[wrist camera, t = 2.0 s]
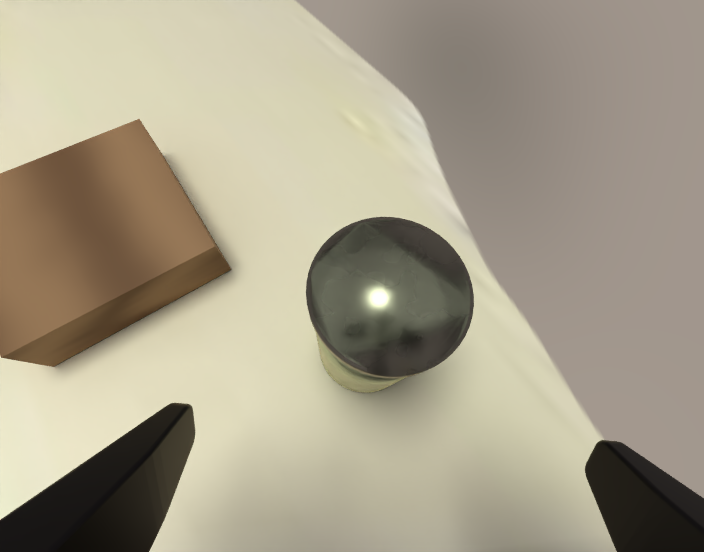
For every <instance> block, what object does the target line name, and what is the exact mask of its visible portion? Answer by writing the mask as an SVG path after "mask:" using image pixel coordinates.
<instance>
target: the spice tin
mask: <svg viewBox="0 0 704 552" xmlns="http://www.w3.org/2000/svg"><path fill="white" fill-rule="evenodd" d="M306 297H307V306H308V310H309V314H310V319H311V322H312V324H313V327H314V329H315V331H316V336H317V341H318V346H319V352H320V356H321V360H322V363H323V365H324V367H325V369H326V371H327V372H328V374H329V375H330V376H331V378H332V379H333V380H334V381H336V382H337V383H338V384H339V385H341V386H343V387H344V388H346V389H349V390H351V391H355V392H361V393H370V392H376V391H380V390H382V389H384V388H387V387H389V386H390V385H392V384H394V383H396V382H398V381H400V380H402V379H404V378H406V377H409V376H413V375H416V374H419V373H422V372H424V371H426V370H428V369H430V368H432V367H435V366H436V365H438V364H439V363H441V362H442V361H444V360H445V359H446V358H448V357H449V356H450V355H451V354H452V353H453V352H454V351H455V350H456V349H457V347H458V346H459V345H460V344H461V342H462V340H463V339H464V337H465V335H466V333H467V331H468V329H469V326H470V323H471V319H472V315H473V307H474V295H473V288H472V283H471V280H470V276H469V274H468V271H467V269H466V267H465V265H464V263H463V261H462V260H461V258H460V256H459V255H458V254H457V252H456V251H455V250H454V248H453V247H452V246H451V245H450V244H449V243H448V242H447V241H446V240H444V239H443V238H442V237H441V236H440V235H438V234H437V233H435V232H434V231H432V230H431V229H429V228H427V227H425V226H423V225H421V224H418V223H415V222H413V221H409V220H405V219H401V218H394V217H376V218H369V219H364V220H361V221H358V222H355V223H352V224H350V225H348V226H346V227H344V228H342V229H341V230H339V231H338V232H336V233H335V234H334V235H333V236H331V237H330V238H329V239H328V240H327V241H326V242H325V243H324V244H323V246H322V247H321V248H320V250H319V251H318V253H317V254H316V256H315V258H314V260H313V262H312V264H311V267H310V270H309V273H308V278H307V286H306Z"/></svg>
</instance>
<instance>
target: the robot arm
mask: <svg viewBox="0 0 704 552" xmlns="http://www.w3.org/2000/svg"><path fill="white" fill-rule="evenodd" d="M194 439H195V424H194V416H193V409H192V406H191V405H189V404H182V403H171V404H169V405H167V406H166V407H164V408H163V409H161V410H160V411H159V412H157V413H156V414H154V415H153V416H151V417H150V418H148V419H147V420H145V421H144V422H142V423H141V424H140V425H138V426H137V427H135V428H134V429H132V430H131V431H129V432H128V433H126V434H125V435H123V436H122V437H121V438H119V439H118V440H116V441H115V442H113V443H112V444H110V445H109V446H107V447H106V448H104V449H103V450H102V451H100V452H99V453H97V454H96V455H94V456H93V457H91V458H90V459H88V460H87V461H85V462H84V463H83V464H81V465H80V466H78V467H77V468H75V469H74V470H72V471H71V472H69V473H68V474H66V475H65V476H64V477H62V478H61V479H59V480H58V481H56V482H55V483H53V484H52V485H50V486H49V487H48V488H46V489H45V490H43V491H42V492H40V493H39V494H37V495H36V496H34V497H33V498H31V499H30V500H29V501H27V502H26V503H24V504H23V505H21V506H20V507H18V508H17V509H15V510H14V511H12V512H11V513H10V514H8V515H7V516H5V517H4V518H2V519H1V520H0V552H149V551H150V549H151V547H152V545H153V542H154V540H155V538H156V536H157V534H158V532H159V530H160V528H161V526H162V523H163V521H164V519H165V517H166V514H167V512H168V509H169V507H170V504H171V501H172V499H173V496H174V493H175V491H176V488H177V485H178V483H179V480H180V477H181V475H182V472H183V469H184V467H185V464H186V461H187V459H188V456H189V454H190V451H191V448H192V446H193V443H194ZM585 473H586V477H587V480H588V482H589V485H590V487H591V490H592V492H593V495H594V497H595V500H596V502H597V505H598V507H599V509H600V512H601V514H602V517H603V519H604V522H605V524H606V527H607V529H608V532H609V534H610V537H611V539H612V542H613V544H614V546H615V548H616V551H617V552H704V498H702V497H701V496H699V495H698V494H696V493H695V492H693V491H692V490H691V489H689V488H688V487H686V486H685V485H683V484H682V483H680V482H679V481H677V480H676V479H674V478H673V477H672V476H670V475H669V474H667V473H666V472H664V471H663V470H661V469H659V468H658V467H657V466H655V465H654V464H652V463H651V462H650V461H648V460H647V459H645V458H644V457H642V456H640V455H639V454H638V453H636V452H635V451H633V450H632V449H630V448H629V447H628V446H626V445H624V444H623V443H621V442H617V441H606V440H601V441H599V442H598V443H597V444H596V446H595V448H594V449H593V451H592V453H591V455H590V457H589V459H588V461H587V463H586V466H585Z"/></svg>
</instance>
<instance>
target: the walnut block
mask: <svg viewBox="0 0 704 552" xmlns="http://www.w3.org/2000/svg"><path fill="white" fill-rule="evenodd" d="M230 270H231V268H230V266H229V265H228V263H227V261H226V260H225V258H224V256H223V255H222V253H221V251H220V250H219V248H218V246H217V245H216V243H215V241H214V240H213V238H212V236H211V235H210V233H209V231H208V230H207V228H206V226H205V225H204V223H203V221H202V220H201V218H200V216H199V215H198V213H197V211H196V210H195V208H194V206H193V205H192V203H191V201H190V200H189V198H188V196H187V195H186V193H185V191H184V190H183V188H182V186H181V185H180V183H179V181H178V180H177V178H176V176H175V175H174V173H173V171H172V170H171V168H170V166H169V165H168V163H167V161H166V160H165V158H164V157H163V155H162V153H161V152H160V150H159V149H158V147H157V146H156V144H155V142H154V141H153V139H152V138H151V136H150V135H149V133H148V132H147V130H146V129H145V127H144V125H143V124H142V122H141V121H140V119H138V120H135V121H133V122H130V123H128V124H125V125H123V126H120V127H118V128H115V129H112V130H110V131H107V132H105V133H102V134H100V135H97V136H95V137H92V138H90V139H87V140H85V141H82V142H79V143H77V144H74V145H72V146H69V147H67V148H64V149H62V150H59V151H57V152H54V153H52V154H49V155H46V156H44V157H41V158H39V159H36V160H34V161H31V162H29V163H26V164H24V165H21V166H19V167H16V168H13V169H11V170H8V171H6V172H3V173H1V174H0V355H1V358H6V359H12V360H18V361H23V362H29V363H35V364H40V365H46V366H52V367H54V366H56V365H58V364H59V363H61V362H63V361H65V360H67V359H69V358H70V357H72V356H74V355H76V354H78V353H80V352H81V351H83V350H85V349H87V348H89V347H91V346H92V345H94V344H96V343H98V342H100V341H101V340H103V339H105V338H107V337H109V336H111V335H112V334H114V333H116V332H118V331H120V330H122V329H123V328H125V327H127V326H129V325H131V324H133V323H134V322H136V321H138V320H140V319H142V318H144V317H145V316H147V315H149V314H151V313H153V312H155V311H156V310H158V309H160V308H162V307H164V306H166V305H167V304H169V303H171V302H173V301H175V300H177V299H178V298H180V297H182V296H184V295H186V294H187V293H189V292H191V291H193V290H195V289H197V288H198V287H200V286H202V285H204V284H206V283H208V282H209V281H211V280H213V279H215V278H217V277H219V276H220V275H222V274H224V273H226V272H228V271H230Z"/></svg>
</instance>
